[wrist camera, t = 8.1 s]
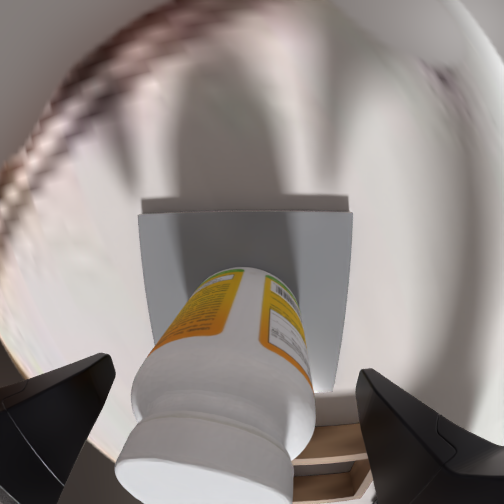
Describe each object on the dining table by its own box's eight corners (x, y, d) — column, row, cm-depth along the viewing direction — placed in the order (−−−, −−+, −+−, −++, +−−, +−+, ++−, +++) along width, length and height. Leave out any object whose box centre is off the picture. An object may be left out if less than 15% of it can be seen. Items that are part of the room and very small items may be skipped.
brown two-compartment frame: (381, 420, 15) (391, 448, 12) (356, 474, 17) (360, 498, 14) (163, 416, 17) (150, 443, 14) (182, 471, 18) (175, 493, 16)
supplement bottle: (185, 347, 14) (104, 498, 5) (200, 252, 13) (60, 386, 3) (283, 371, 14) (281, 542, 5) (314, 279, 13) (377, 463, 3)
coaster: (349, 211, 12) (353, 212, 12) (331, 385, 15) (332, 391, 14) (143, 213, 13) (137, 215, 13) (166, 377, 16) (163, 383, 15)
